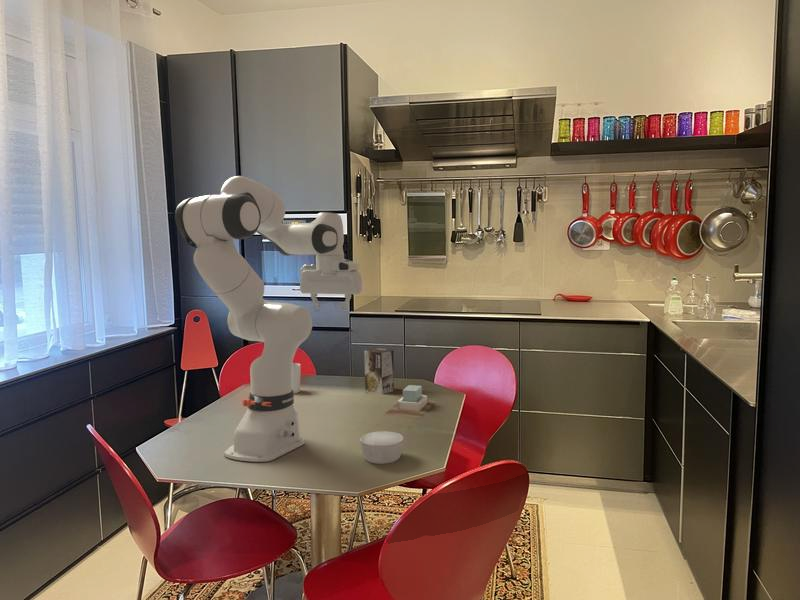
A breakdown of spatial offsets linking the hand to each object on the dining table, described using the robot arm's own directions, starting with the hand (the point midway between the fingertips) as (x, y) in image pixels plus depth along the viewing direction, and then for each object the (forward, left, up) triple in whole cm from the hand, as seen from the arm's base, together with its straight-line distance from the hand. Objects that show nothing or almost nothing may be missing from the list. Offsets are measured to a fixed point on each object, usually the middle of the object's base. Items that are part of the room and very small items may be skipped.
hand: (331, 308), depth 189 cm
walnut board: (+8, -24, -34) cm, 42 cm away
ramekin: (-33, -28, -34) cm, 55 cm away
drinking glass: (+20, +25, -34) cm, 47 cm away
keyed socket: (+10, -24, -33) cm, 42 cm away
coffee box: (+26, -7, -34) cm, 44 cm away
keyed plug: (+10, -24, -33) cm, 42 cm away
